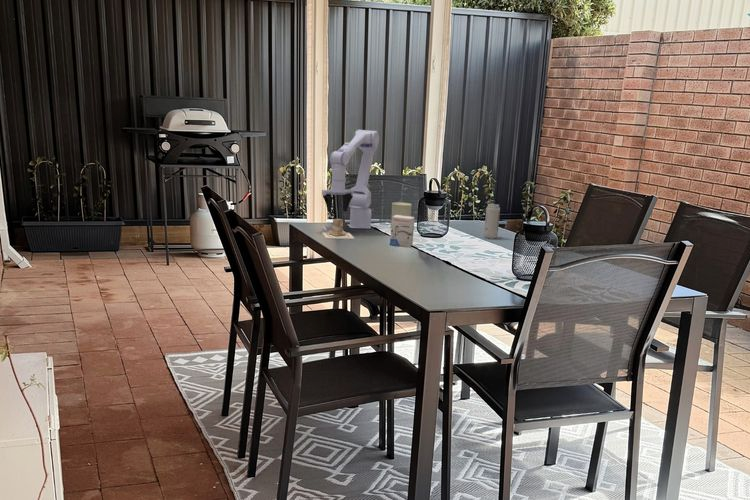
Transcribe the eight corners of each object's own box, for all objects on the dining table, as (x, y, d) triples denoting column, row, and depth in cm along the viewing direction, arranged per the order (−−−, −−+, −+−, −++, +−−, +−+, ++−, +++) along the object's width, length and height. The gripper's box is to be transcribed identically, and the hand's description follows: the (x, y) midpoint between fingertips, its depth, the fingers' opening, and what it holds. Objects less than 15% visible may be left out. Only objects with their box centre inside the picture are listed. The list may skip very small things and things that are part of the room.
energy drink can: (483, 236, 303) (486, 203, 300) (496, 237, 303) (499, 204, 300) (484, 238, 298) (487, 205, 295) (497, 239, 297) (501, 206, 294)
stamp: (338, 233, 288) (338, 218, 286) (345, 235, 284) (346, 220, 283) (328, 234, 284) (329, 219, 283) (336, 236, 281) (337, 220, 279)
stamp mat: (349, 233, 291) (349, 232, 291) (354, 239, 280) (354, 237, 280) (321, 233, 288) (321, 232, 288) (325, 238, 277) (325, 237, 277)
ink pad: (340, 229, 301) (340, 226, 300) (343, 232, 293) (343, 229, 293) (322, 228, 299) (322, 226, 299) (325, 232, 291) (325, 229, 291)
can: (390, 226, 317) (391, 200, 314) (409, 227, 317) (411, 201, 314) (390, 229, 307) (392, 203, 305) (410, 230, 308) (412, 204, 305)
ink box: (389, 245, 271) (391, 216, 269) (392, 243, 276) (394, 214, 274) (410, 247, 269) (412, 218, 267) (413, 245, 274) (415, 216, 271)
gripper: (348, 178, 294) (347, 209, 297) (319, 178, 286) (317, 210, 289) (356, 180, 288) (355, 211, 291) (327, 180, 281) (325, 213, 283)
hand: (337, 211), depth 290 cm, fingers open, 7 cm apart
